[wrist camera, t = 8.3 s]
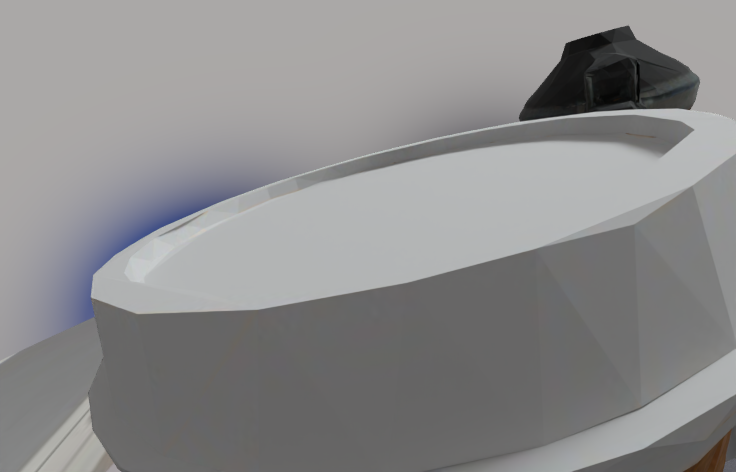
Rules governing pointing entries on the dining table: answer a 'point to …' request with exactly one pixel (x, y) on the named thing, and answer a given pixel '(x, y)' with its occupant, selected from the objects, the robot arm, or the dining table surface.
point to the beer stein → (612, 79)
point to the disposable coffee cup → (441, 310)
